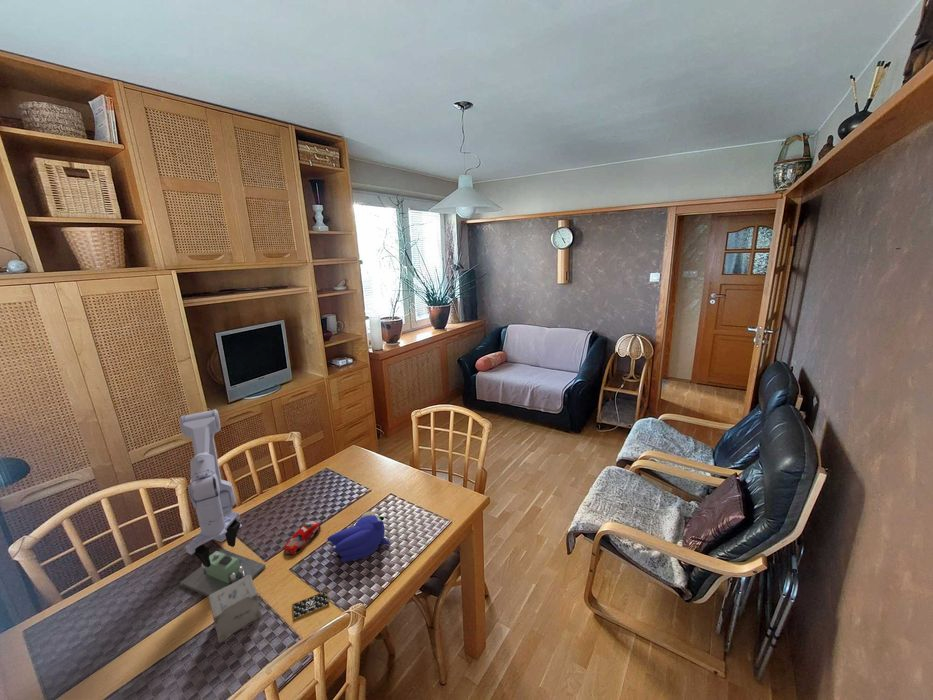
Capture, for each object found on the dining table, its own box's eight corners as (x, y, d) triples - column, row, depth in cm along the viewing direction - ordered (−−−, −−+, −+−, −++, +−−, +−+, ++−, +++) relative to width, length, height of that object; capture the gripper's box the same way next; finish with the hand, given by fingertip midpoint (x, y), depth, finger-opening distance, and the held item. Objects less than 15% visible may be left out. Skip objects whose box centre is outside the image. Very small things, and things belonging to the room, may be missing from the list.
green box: (206, 574, 109) (202, 558, 107) (219, 563, 112) (215, 548, 111) (228, 583, 106) (225, 567, 104) (241, 572, 109) (237, 556, 108)
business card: (293, 618, 96) (292, 603, 100) (293, 622, 96) (292, 606, 100) (329, 603, 100) (326, 589, 104) (329, 606, 100) (327, 592, 104)
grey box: (219, 648, 90) (211, 615, 87) (214, 623, 96) (206, 591, 93) (264, 622, 96) (257, 590, 93) (256, 600, 102) (250, 570, 99)
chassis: (181, 585, 107) (178, 574, 105) (223, 551, 118) (220, 541, 117) (225, 604, 101) (223, 593, 100) (265, 567, 112) (263, 556, 111)
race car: (293, 558, 116) (291, 548, 115) (280, 553, 118) (278, 543, 117) (324, 530, 128) (322, 520, 126) (312, 525, 130) (310, 516, 128)
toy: (364, 520, 131) (399, 532, 124) (330, 561, 117) (367, 576, 111) (357, 498, 127) (393, 509, 120) (322, 538, 113) (359, 553, 107)
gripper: (194, 538, 96) (205, 579, 100) (244, 503, 109) (251, 540, 113) (176, 531, 98) (187, 571, 102) (226, 497, 111) (234, 534, 115)
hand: (219, 555), depth 108 cm, fingers open, 7 cm apart
